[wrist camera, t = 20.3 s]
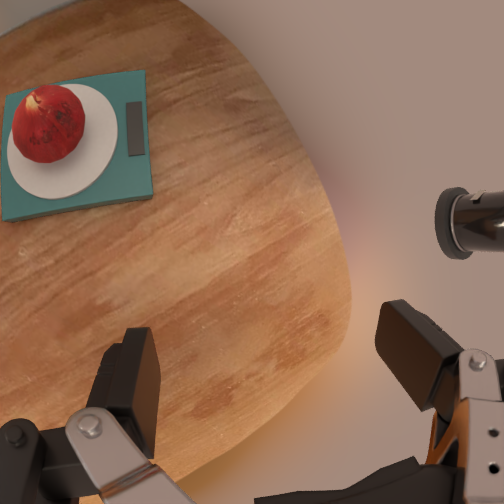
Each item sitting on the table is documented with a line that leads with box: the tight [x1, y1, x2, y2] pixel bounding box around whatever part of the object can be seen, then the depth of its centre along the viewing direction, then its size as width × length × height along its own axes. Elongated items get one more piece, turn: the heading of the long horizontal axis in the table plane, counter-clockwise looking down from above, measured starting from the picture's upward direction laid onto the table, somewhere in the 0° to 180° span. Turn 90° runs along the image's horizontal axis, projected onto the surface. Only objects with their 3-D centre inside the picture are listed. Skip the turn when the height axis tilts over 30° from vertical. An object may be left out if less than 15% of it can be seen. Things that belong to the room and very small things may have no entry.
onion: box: [12, 85, 86, 163], centre depth 18 cm, size 6×6×8 cm
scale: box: [1, 70, 153, 222], centre depth 23 cm, size 14×12×3 cm
